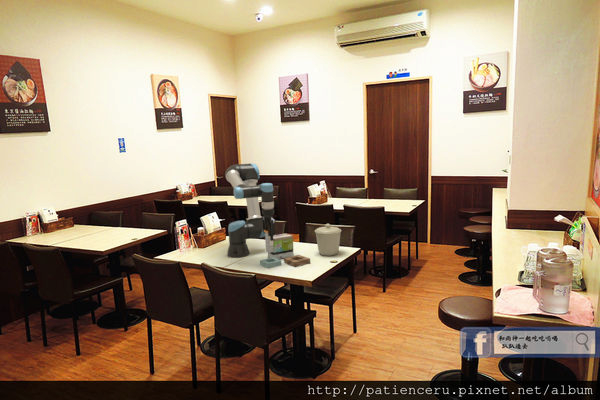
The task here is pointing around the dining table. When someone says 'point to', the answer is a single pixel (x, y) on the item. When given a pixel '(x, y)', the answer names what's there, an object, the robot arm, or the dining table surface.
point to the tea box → (282, 246)
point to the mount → (270, 262)
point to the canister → (328, 240)
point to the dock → (297, 260)
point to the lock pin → (268, 248)
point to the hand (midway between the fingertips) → (269, 244)
